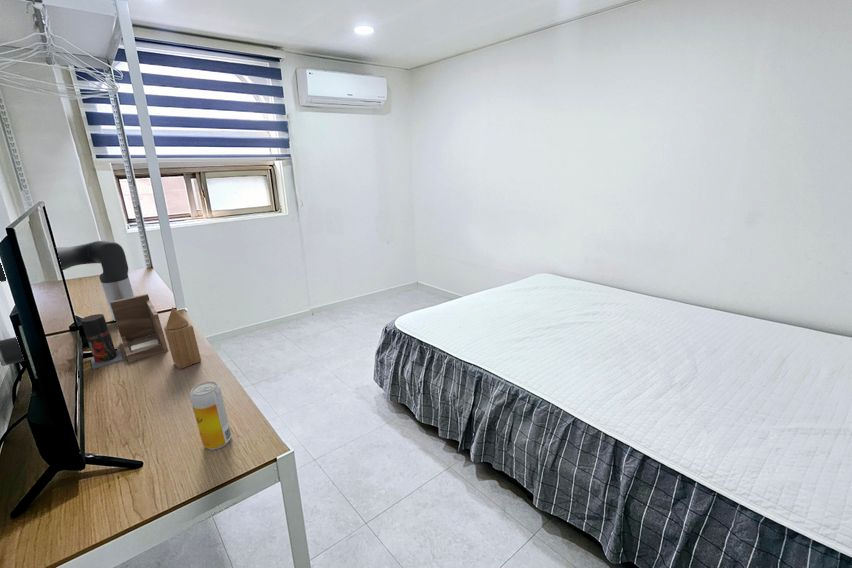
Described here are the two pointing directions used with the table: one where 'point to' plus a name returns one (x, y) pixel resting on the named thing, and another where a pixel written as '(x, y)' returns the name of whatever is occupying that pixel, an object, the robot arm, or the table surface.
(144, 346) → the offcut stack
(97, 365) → the mat
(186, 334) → the decorative item
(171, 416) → the table surface
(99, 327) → the deodorant
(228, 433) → the beer can
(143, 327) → the box
